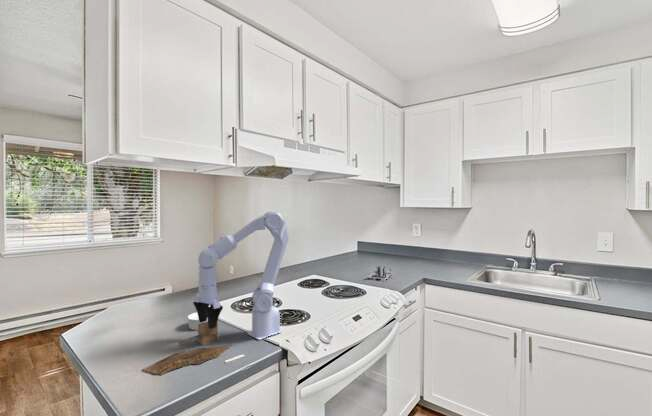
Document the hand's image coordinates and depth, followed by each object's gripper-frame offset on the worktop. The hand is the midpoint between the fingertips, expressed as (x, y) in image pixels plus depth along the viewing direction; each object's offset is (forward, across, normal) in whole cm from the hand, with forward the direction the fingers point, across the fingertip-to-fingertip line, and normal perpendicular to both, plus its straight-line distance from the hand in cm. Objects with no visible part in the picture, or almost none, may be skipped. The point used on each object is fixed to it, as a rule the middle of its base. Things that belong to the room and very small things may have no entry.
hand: (207, 324), depth 106 cm
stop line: (+6, +18, +1) cm, 19 cm away
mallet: (+6, 0, -3) cm, 7 cm away
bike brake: (+6, -14, +116) cm, 117 cm away
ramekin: (+6, -15, +4) cm, 17 cm away
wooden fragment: (+6, +8, -8) cm, 13 cm away
